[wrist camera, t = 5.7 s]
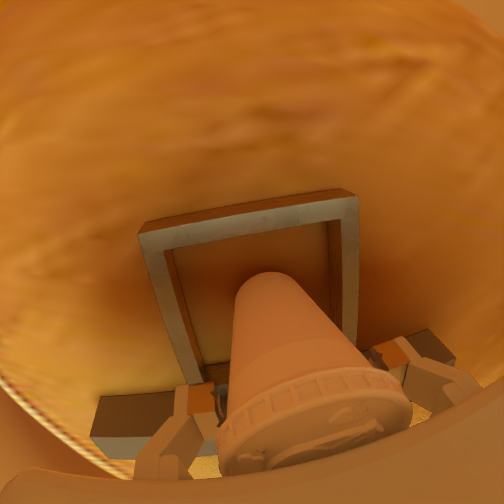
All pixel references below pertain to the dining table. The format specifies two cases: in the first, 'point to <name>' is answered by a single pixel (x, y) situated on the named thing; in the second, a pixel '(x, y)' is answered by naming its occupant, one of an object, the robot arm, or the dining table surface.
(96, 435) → the door edge
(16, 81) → the dining table surface
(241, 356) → the smoothie
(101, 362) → the dining table surface
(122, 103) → the dining table surface
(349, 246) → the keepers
